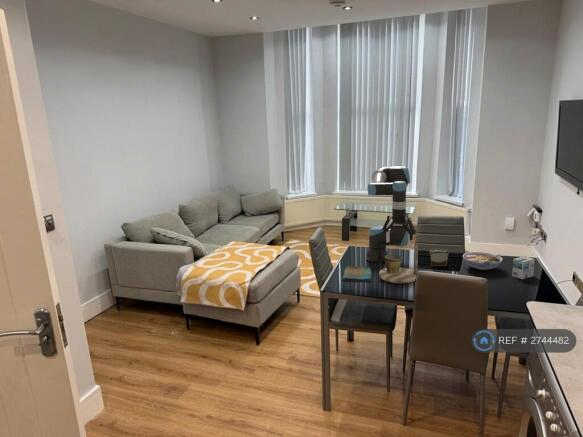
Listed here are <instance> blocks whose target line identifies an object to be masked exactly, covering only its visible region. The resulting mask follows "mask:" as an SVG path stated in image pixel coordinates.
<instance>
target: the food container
mask: <svg viewBox="0 0 583 437" xmlns="http://www.w3.org/2000/svg"><path fill="white" fill-rule="evenodd" d="M428 253H429V255H430V263H431V265H430V266H431V267H435V266H436V267H437V266H438V267H447V263H448V258H449V255H450V251H449V250H448V249H445V248H431V249H430V250H429V252H428Z"/></svg>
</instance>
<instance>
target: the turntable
mask: <svg viewBox="0 0 583 437" xmlns="http://www.w3.org/2000/svg"><path fill="white" fill-rule="evenodd" d="M413 250H414V251H413V254H414V255H413V269H412V268H407V267H401V266H400V269H399V273H398V274H396V275H390V274H388V273H387V268H386V267H385V268H382V269H381V270H379V272H378V273H379V274H378V277H379V278H380V279H381V280H383V281H385V282H389V283H392V284H408V283H412V282H415V281H416V280H417V279H416V273H417V274H418V264H419V263H418V261H419V260H418V259H419V258H418V257H419V246H418V245H414V247H413ZM415 279H416V280H415Z"/></svg>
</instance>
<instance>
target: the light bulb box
mask: <svg viewBox="0 0 583 437" xmlns="http://www.w3.org/2000/svg"><path fill="white" fill-rule="evenodd" d="M535 260H536V259H535V258H532V257H529V256H527V255H526V256H525V255H523V256H520V257H517V258H513V261H512V272H511V273H512V274H511V276H512V277H514V278H517V279H521V280H525V279H528V278H531V277H534V273H535V272H534V270H535Z"/></svg>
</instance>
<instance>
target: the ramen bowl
mask: <svg viewBox="0 0 583 437" xmlns="http://www.w3.org/2000/svg"><path fill="white" fill-rule="evenodd" d="M462 258H463V260H464V262H465V263H466V264H467V265H468V266H470V267H472V268H474V269H476V270H478V269H479V271H487V270H492V269H495V268H497V267H499V265H500V264H501V263H502V261H503V257H501V255H500V253H499V254H496V253H495V254H494V253H490V252H483V251H471V252H470V251H469V252H466V253H464V254H463V255H462Z"/></svg>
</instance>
